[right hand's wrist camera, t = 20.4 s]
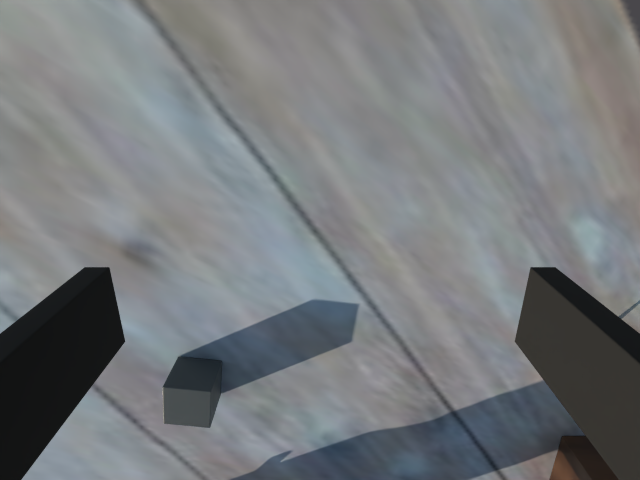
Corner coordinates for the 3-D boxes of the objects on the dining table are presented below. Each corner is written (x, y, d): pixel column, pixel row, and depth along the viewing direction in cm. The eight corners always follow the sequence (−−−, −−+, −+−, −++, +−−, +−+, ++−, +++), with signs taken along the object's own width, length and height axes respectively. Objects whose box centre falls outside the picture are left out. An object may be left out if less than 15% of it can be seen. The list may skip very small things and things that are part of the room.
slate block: (178, 356, 46) (162, 387, 41) (222, 360, 46) (211, 391, 41) (178, 390, 48) (163, 423, 43) (220, 394, 48) (210, 428, 43)
